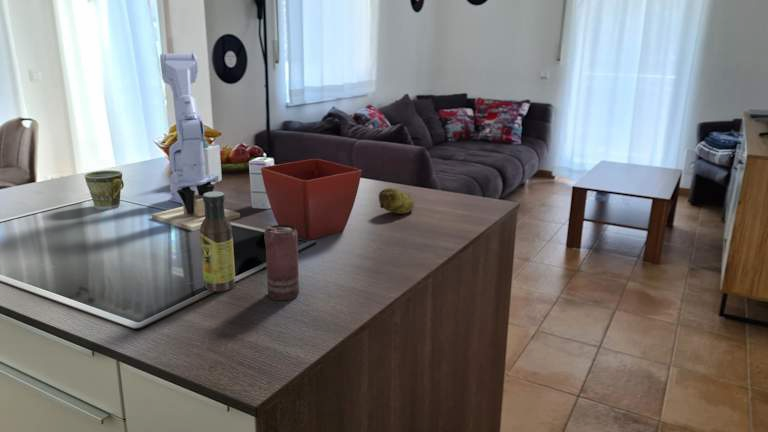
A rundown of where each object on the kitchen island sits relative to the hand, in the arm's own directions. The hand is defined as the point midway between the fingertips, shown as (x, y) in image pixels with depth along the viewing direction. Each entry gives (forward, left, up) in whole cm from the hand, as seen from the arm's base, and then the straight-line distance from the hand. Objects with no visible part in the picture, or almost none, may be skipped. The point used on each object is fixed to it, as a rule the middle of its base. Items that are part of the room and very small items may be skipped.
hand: (197, 211), depth 164 cm
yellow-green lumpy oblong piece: (+41, +39, -2) cm, 57 cm away
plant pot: (+32, +12, -2) cm, 35 cm away
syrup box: (+5, +20, -2) cm, 21 cm away
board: (-1, 0, -2) cm, 2 cm away
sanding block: (0, 0, -1) cm, 1 cm away
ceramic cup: (-29, -9, -2) cm, 30 cm away
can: (+55, -22, -2) cm, 60 cm away
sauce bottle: (+42, -27, -2) cm, 50 cm away
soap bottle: (-33, +28, -2) cm, 43 cm away
